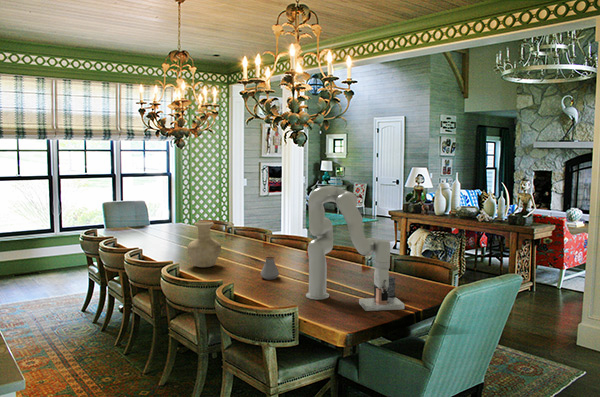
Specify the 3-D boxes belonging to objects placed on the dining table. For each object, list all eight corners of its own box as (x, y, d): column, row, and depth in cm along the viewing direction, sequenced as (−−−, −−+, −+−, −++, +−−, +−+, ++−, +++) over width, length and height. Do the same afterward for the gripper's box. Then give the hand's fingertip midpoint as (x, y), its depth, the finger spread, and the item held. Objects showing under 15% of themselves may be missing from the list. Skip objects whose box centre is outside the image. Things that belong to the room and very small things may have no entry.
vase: (221, 269, 324) (220, 225, 321) (186, 270, 321) (185, 225, 318) (221, 262, 346) (220, 220, 343) (188, 263, 343) (188, 220, 340)
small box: (386, 293, 272) (386, 275, 271) (395, 296, 267) (395, 277, 266) (373, 297, 265) (373, 278, 264) (382, 300, 260) (382, 280, 259)
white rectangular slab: (359, 303, 254) (359, 298, 253) (396, 302, 257) (396, 297, 257) (365, 310, 242) (365, 305, 242) (404, 309, 245) (404, 304, 245)
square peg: (375, 305, 251) (376, 288, 250) (384, 304, 252) (384, 287, 251) (378, 307, 247) (378, 290, 246) (386, 307, 248) (387, 290, 247)
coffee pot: (271, 274, 312) (271, 251, 311) (282, 278, 303) (283, 254, 302) (243, 280, 298) (243, 256, 297) (254, 284, 290) (254, 259, 288)
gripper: (369, 261, 255) (369, 293, 257) (380, 268, 238) (379, 303, 240) (383, 260, 256) (382, 292, 258) (395, 268, 239) (394, 302, 241)
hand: (381, 297), depth 249 cm, fingers open, 9 cm apart
